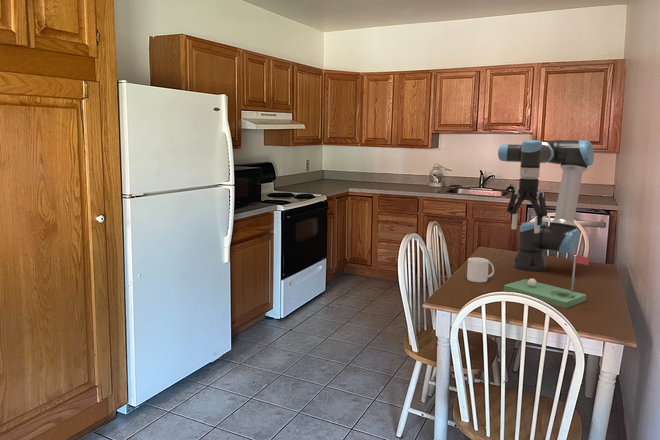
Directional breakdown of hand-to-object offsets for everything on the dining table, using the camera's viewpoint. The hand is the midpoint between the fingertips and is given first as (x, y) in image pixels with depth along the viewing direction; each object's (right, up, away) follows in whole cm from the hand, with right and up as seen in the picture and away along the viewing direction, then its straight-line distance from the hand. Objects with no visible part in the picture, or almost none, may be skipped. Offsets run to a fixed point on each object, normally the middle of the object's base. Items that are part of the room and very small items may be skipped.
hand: (525, 230), depth 209 cm
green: (+6, -27, -4) cm, 28 cm away
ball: (+3, -22, 0) cm, 22 cm away
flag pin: (+18, -28, -8) cm, 34 cm away
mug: (-13, -23, +18) cm, 32 cm away
